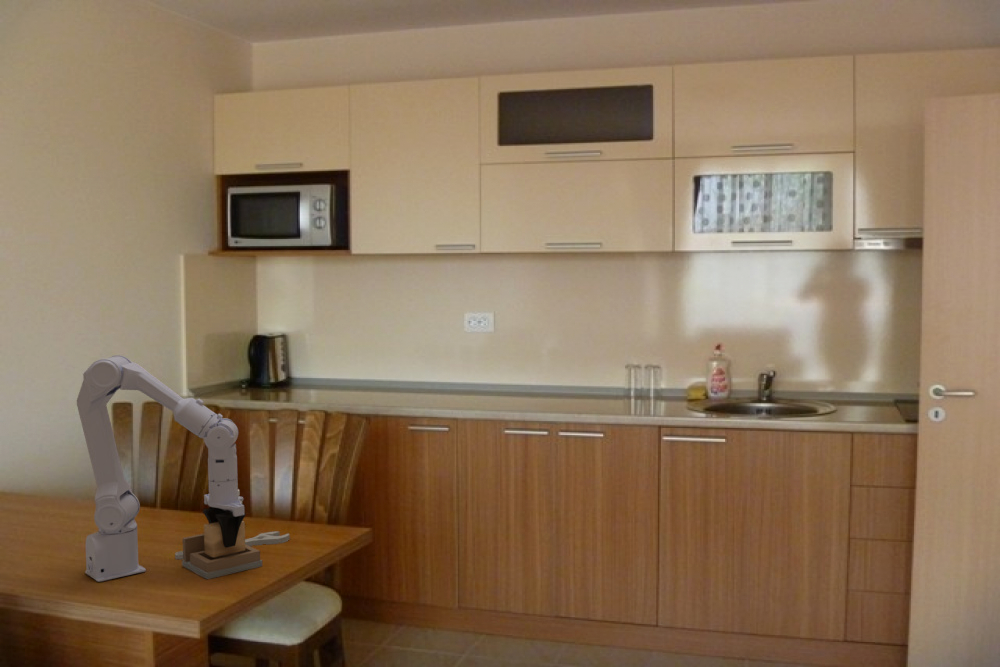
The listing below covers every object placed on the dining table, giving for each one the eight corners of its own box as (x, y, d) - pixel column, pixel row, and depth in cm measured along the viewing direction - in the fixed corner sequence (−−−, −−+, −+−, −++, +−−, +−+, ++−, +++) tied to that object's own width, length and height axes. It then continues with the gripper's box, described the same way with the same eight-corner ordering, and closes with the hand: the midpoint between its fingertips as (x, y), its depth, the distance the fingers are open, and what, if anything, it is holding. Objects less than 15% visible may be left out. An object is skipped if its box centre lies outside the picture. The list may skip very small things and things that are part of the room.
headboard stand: (206, 579, 176) (206, 549, 176) (182, 565, 185) (181, 537, 184) (262, 566, 184) (261, 537, 184) (236, 553, 193) (235, 526, 192)
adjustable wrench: (176, 563, 188) (176, 554, 188) (170, 555, 194) (170, 547, 194) (291, 543, 201) (291, 535, 201) (282, 536, 207) (282, 528, 207)
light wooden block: (213, 557, 179) (212, 528, 179) (204, 553, 182) (203, 524, 182) (245, 550, 184) (244, 521, 184) (236, 546, 187) (235, 518, 187)
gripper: (257, 481, 180) (259, 547, 180) (225, 470, 190) (227, 532, 191) (224, 487, 175) (226, 554, 176) (193, 475, 185) (195, 539, 186)
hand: (224, 544), depth 183 cm, fingers closed on light wooden block, 4 cm apart
